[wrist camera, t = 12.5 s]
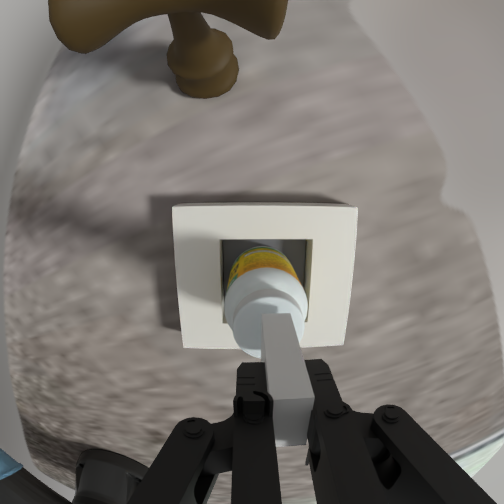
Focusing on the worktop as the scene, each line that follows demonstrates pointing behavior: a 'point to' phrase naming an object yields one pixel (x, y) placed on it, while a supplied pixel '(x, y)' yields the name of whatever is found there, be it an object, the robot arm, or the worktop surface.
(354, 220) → the socket block
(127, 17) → the kendama
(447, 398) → the worktop surface
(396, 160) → the worktop surface
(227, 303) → the supplement bottle
